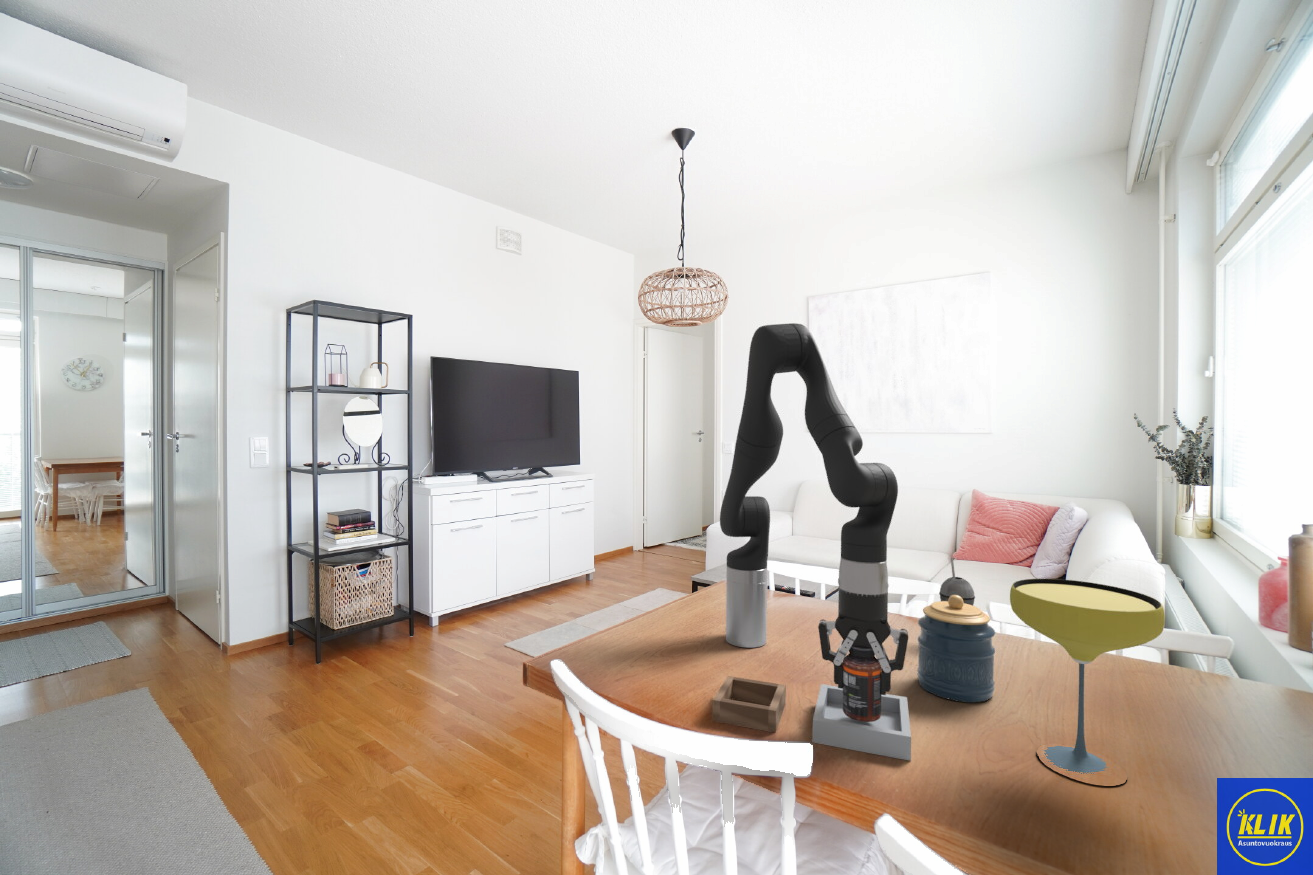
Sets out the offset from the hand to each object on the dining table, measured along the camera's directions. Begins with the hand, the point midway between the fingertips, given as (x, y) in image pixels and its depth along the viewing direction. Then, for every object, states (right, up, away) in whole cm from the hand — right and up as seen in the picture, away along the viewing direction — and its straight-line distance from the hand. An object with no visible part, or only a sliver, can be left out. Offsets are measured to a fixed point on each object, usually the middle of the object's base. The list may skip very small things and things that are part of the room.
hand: (861, 689), depth 95 cm
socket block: (-17, -6, +5) cm, 19 cm away
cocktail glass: (+28, -7, -10) cm, 31 cm away
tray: (0, -6, 0) cm, 6 cm away
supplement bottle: (0, -4, 0) cm, 4 cm away
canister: (+23, -7, +16) cm, 29 cm away
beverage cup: (+35, -7, +38) cm, 52 cm away
